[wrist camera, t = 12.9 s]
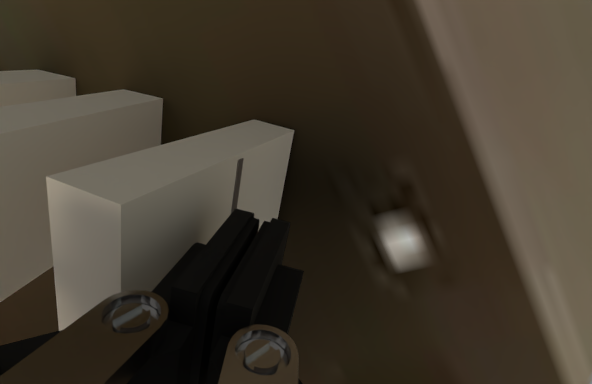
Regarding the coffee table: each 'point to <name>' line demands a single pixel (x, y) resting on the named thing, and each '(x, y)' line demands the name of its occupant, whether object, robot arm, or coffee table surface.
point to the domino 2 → (157, 209)
